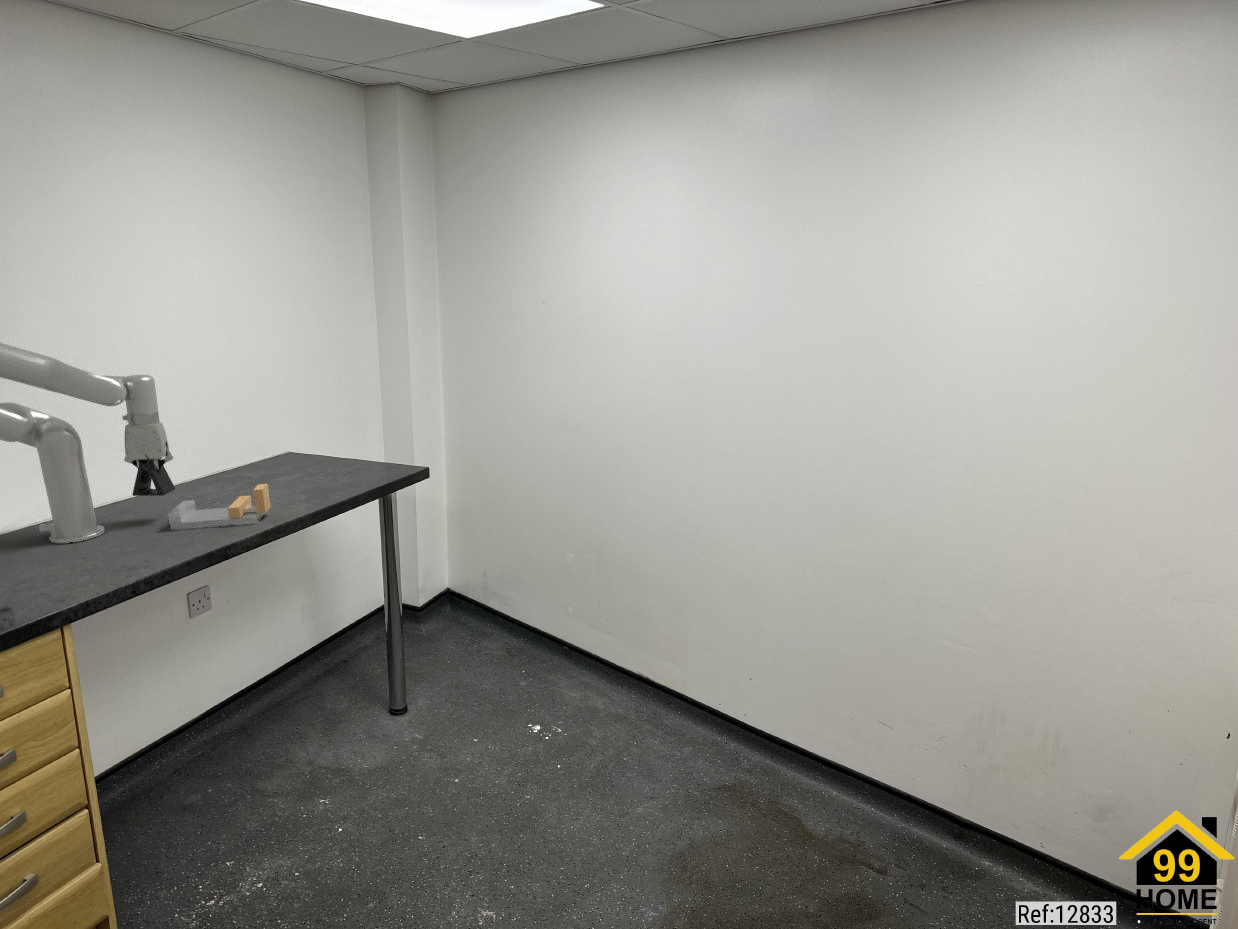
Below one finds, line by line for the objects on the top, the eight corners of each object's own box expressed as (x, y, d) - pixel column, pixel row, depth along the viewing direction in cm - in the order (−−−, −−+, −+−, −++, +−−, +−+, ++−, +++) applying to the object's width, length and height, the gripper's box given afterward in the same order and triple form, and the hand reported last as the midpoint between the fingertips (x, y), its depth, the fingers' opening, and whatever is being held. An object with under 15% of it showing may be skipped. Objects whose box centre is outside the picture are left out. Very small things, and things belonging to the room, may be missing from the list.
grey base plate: (171, 530, 215) (169, 523, 215) (186, 517, 227) (185, 510, 226) (256, 523, 219) (255, 517, 219) (267, 511, 231) (266, 504, 230)
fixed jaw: (169, 523, 215) (168, 513, 214) (185, 510, 226) (183, 500, 226) (181, 522, 215) (179, 512, 215) (196, 509, 227) (194, 500, 226)
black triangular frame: (132, 495, 219) (126, 454, 217) (144, 490, 225) (138, 450, 222) (164, 495, 220) (158, 454, 217) (175, 489, 225) (170, 449, 223)
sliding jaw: (229, 518, 217) (225, 494, 216) (241, 505, 229) (237, 483, 227) (263, 515, 219) (259, 492, 217) (273, 503, 230) (270, 481, 229)
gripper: (106, 422, 212) (115, 486, 216) (169, 420, 215) (177, 484, 219) (118, 417, 219) (127, 480, 223) (179, 416, 222) (186, 478, 226)
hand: (151, 481), depth 221 cm, fingers closed on black triangular frame
